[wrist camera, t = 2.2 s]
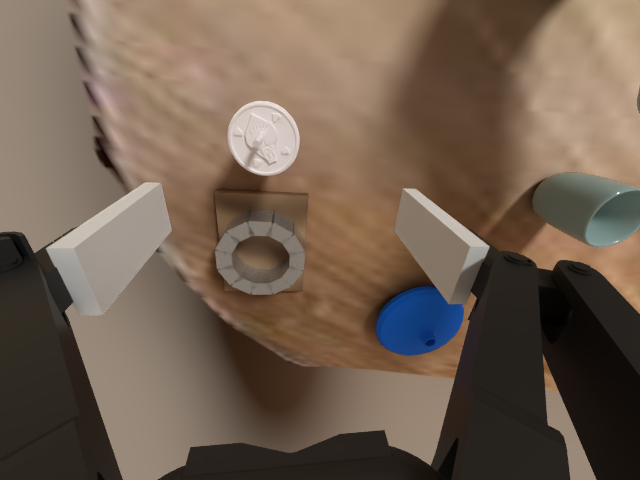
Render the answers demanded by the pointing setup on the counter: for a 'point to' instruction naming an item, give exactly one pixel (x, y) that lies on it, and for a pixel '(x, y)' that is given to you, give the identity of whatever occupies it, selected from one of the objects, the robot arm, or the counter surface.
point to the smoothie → (263, 138)
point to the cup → (589, 207)
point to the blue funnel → (418, 321)
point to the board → (261, 248)
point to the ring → (249, 276)
